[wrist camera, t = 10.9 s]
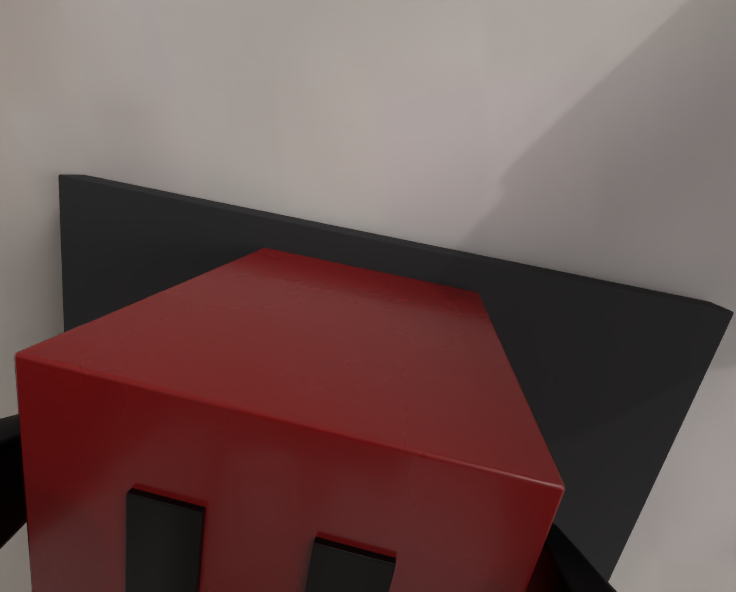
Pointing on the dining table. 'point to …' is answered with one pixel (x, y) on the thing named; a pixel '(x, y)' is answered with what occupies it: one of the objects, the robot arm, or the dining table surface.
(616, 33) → the dining table surface
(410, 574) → the toaster
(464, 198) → the dining table surface
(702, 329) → the placemat
